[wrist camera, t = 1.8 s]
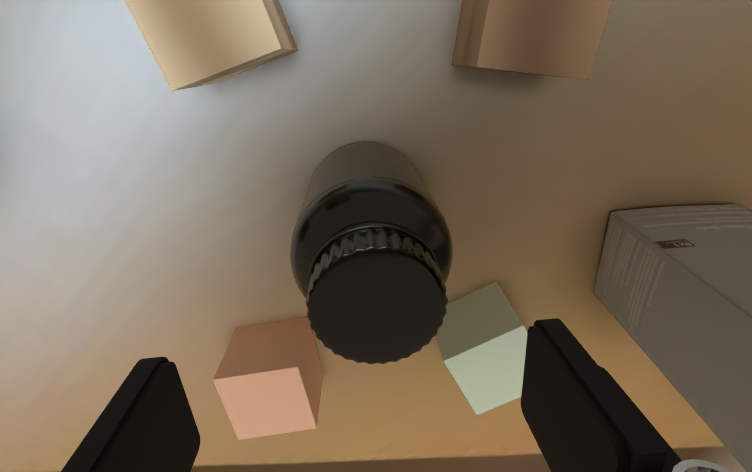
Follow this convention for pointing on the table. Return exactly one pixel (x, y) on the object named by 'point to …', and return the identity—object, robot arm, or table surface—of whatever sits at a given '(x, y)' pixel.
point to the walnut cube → (531, 35)
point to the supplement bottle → (371, 255)
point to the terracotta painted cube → (271, 379)
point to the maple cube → (211, 37)
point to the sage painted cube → (484, 347)
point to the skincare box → (689, 305)
